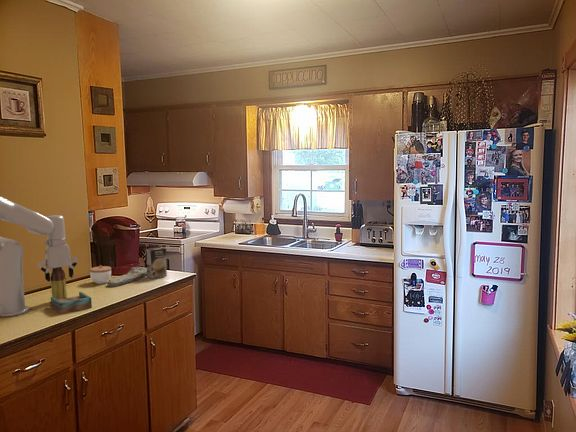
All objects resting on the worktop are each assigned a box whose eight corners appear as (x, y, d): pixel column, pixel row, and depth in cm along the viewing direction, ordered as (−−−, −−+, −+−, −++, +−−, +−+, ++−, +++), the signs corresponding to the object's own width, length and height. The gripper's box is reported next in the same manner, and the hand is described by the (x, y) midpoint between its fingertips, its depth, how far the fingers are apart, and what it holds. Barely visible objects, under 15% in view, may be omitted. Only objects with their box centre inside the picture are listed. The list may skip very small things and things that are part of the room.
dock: (60, 313, 196) (59, 303, 195) (50, 306, 206) (50, 296, 206) (91, 307, 205) (91, 297, 204) (81, 300, 215) (80, 291, 214)
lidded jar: (88, 285, 242) (87, 267, 241) (92, 280, 253) (91, 263, 252) (110, 284, 244) (109, 267, 243) (113, 279, 255) (112, 262, 254)
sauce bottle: (62, 298, 219) (59, 257, 217) (70, 300, 216) (68, 258, 213) (49, 302, 213) (46, 259, 211) (57, 304, 210) (54, 260, 208)
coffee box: (151, 279, 256) (150, 250, 254) (146, 276, 261) (145, 248, 259) (167, 276, 262) (166, 248, 260) (162, 274, 267) (161, 246, 265)
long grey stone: (102, 289, 241) (118, 291, 238) (101, 279, 240) (118, 281, 237) (142, 271, 274) (157, 273, 271) (142, 262, 273) (156, 264, 270)
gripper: (38, 246, 203) (41, 284, 205) (79, 240, 214) (82, 277, 217) (33, 244, 209) (37, 281, 211) (74, 238, 220) (76, 274, 222)
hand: (59, 278), depth 214 cm, fingers open, 9 cm apart
